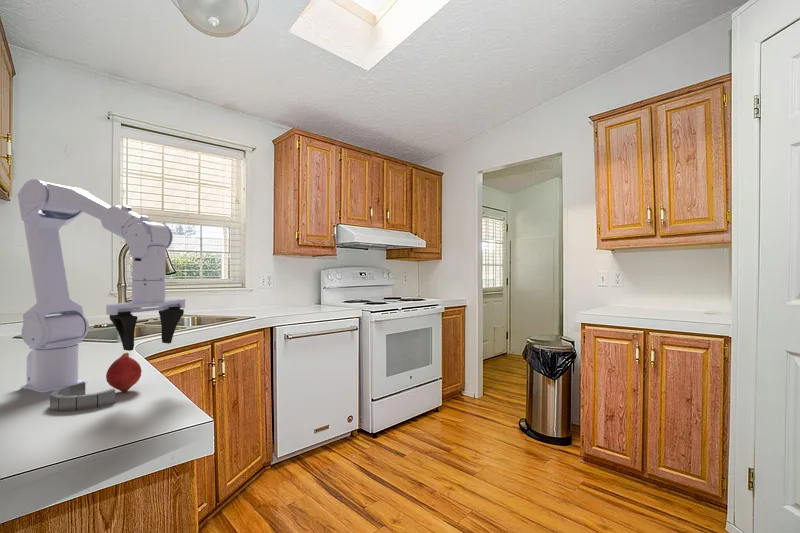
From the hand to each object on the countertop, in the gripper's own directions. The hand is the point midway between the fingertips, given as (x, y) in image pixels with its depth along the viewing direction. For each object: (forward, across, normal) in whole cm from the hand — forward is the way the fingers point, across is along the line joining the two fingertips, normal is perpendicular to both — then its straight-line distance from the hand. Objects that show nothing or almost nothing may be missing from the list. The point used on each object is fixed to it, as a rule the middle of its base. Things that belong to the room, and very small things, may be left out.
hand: (148, 346), depth 78 cm
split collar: (+9, -8, +4) cm, 13 cm away
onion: (+10, -2, +4) cm, 11 cm away
